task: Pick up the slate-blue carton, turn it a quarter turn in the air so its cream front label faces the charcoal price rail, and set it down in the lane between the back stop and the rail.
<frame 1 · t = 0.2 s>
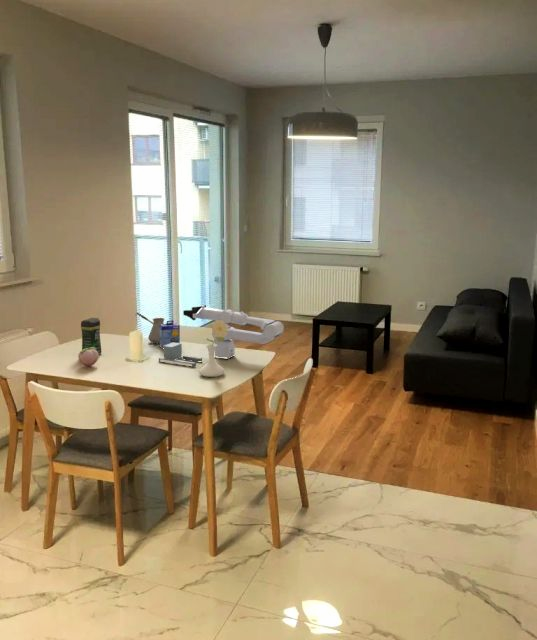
hand: (187, 311, 308), 21 cm above the table, tool horizontal, fingers open, 7 cm apart
decorative fruit: (88, 367, 285), on the table
flower in vase: (213, 375, 275), on the table
coffee pot: (152, 341, 335), on the table
carton: (172, 358, 301), on the table
price rail: (182, 362, 295), on the table
coffee jar: (92, 355, 306), on the table
ink cartridge box: (170, 347, 323), on the table
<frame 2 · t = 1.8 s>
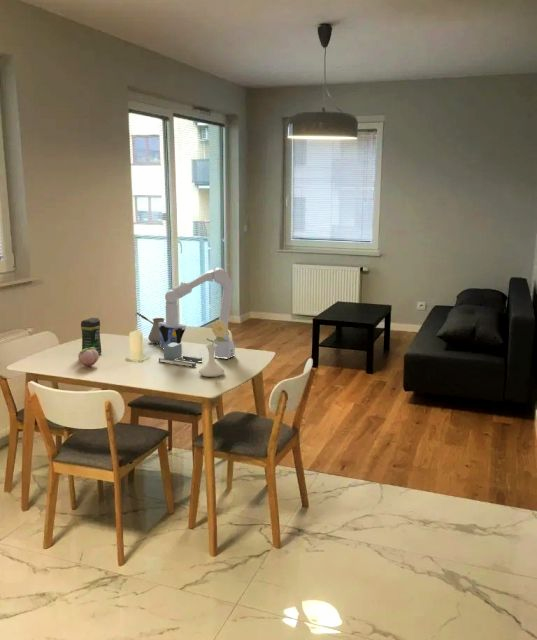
hand: (172, 342, 299), 8 cm above the table, tool pointing down, fingers open, 7 cm apart
nothing on the table moved.
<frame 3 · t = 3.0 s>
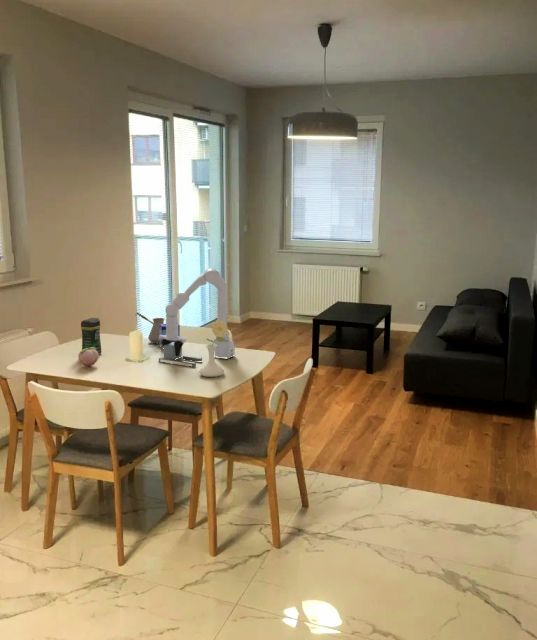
hand: (172, 355, 301), 2 cm above the table, tool pointing down, fingers closed on carton, 5 cm apart
carton: (173, 358, 301), on the table, touching gripper
everything else where it was.
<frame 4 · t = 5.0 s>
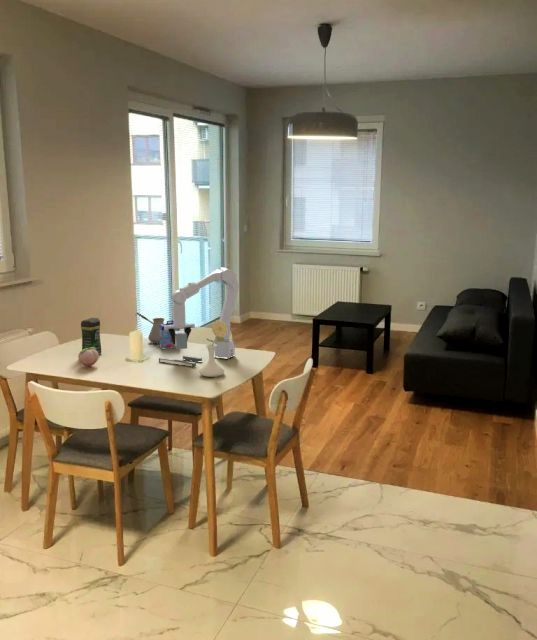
hand: (179, 343, 295), 9 cm above the table, tool pointing down, fingers closed on carton, 5 cm apart
carton: (180, 346, 296), point 7 cm above the table, touching gripper
everything else where it was.
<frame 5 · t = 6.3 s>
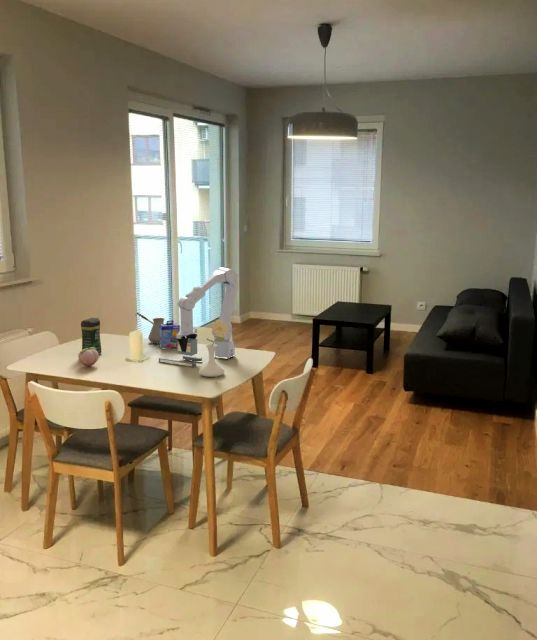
hand: (187, 350, 292), 6 cm above the table, tool pointing down, fingers closed on carton, 5 cm apart
carton: (187, 353, 292), point 5 cm above the table, touching gripper
everything else where it was.
when the fingers open (4 cm above the table, at t = 7.4 s): carton drops 2 cm, on the table.
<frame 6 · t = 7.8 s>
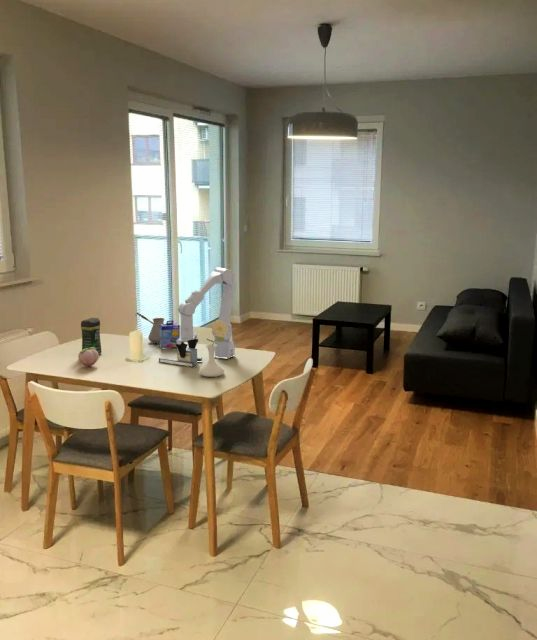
hand: (187, 355, 292), 4 cm above the table, tool pointing down, fingers open, 7 cm apart
carton: (187, 363, 293), on the table
everything else where it was.
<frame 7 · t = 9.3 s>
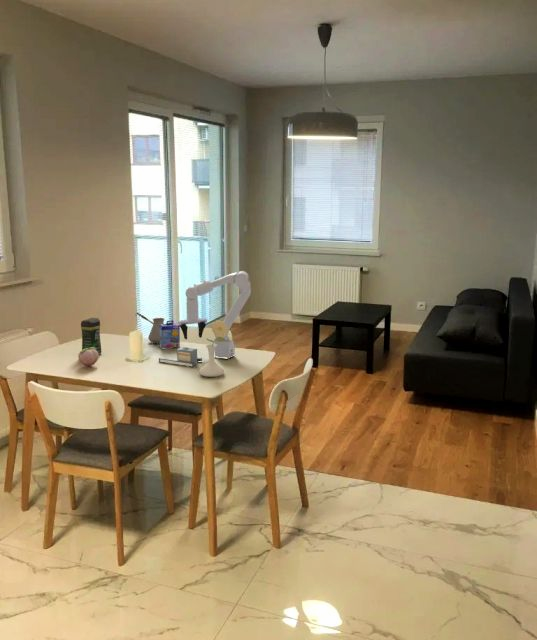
hand: (193, 338, 303), 9 cm above the table, tool pointing down, fingers open, 7 cm apart
nothing on the table moved.
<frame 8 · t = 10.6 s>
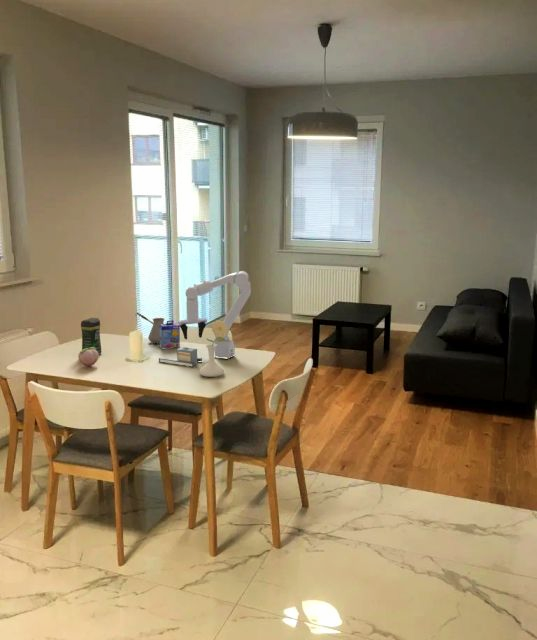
hand: (193, 338, 303), 9 cm above the table, tool pointing down, fingers open, 7 cm apart
nothing on the table moved.
at the end: carton 0.1 cm from the target spot, on the table; carton tilted 0°; the gripper is holding nothing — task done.
